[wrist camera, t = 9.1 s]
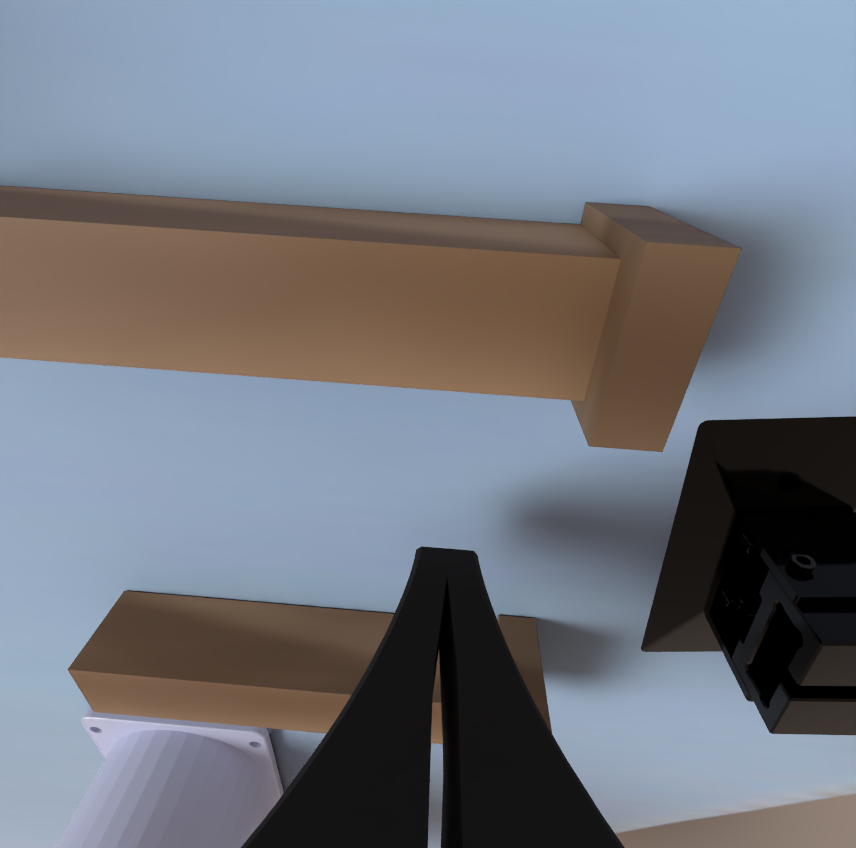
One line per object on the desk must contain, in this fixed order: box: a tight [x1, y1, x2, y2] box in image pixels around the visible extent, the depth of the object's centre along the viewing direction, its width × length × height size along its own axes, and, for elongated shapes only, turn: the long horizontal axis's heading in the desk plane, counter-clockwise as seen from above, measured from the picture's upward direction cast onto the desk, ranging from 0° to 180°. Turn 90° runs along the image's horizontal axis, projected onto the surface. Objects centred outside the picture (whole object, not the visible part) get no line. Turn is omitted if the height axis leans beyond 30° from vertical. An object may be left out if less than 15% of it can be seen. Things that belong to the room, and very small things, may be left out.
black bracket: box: [641, 417, 856, 735], centre depth 12 cm, size 12×7×5 cm, turn 5°
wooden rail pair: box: [0, 186, 742, 744], centre depth 12 cm, size 16×14×4 cm
